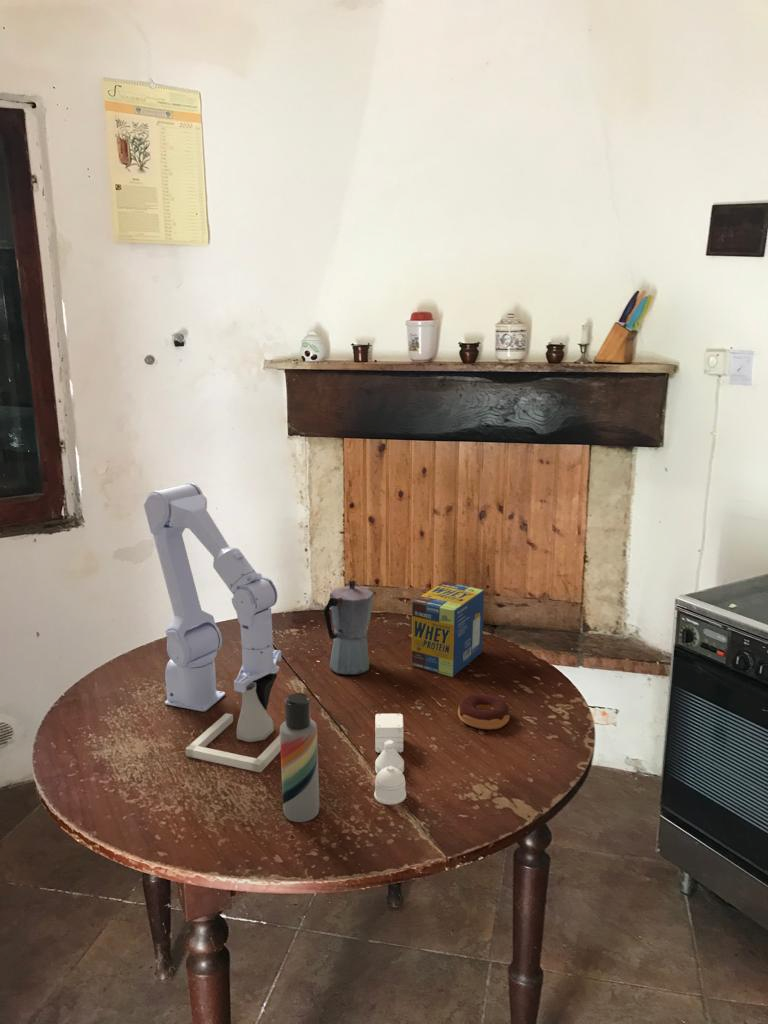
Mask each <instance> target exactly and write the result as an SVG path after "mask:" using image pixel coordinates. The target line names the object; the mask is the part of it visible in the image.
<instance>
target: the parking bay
mask: <svg viewBox="0 0 768 1024" xmlns="http://www.w3.org/2000/svg"><path fill="white" fill-rule="evenodd" d="M233 722H234V714H232V713H228V712H226V713H224V714H223V715H222V716H220V717H219V719H218V720H216V721H215V722H214V723H213V724H212V725H211V726H209V728H207V729H206V730H205V731H203V732H202V733H201V734H200V735H199V736H198V737H197V738H195V740H193V741H192V742H191V743H190V744H189V745H188V746H186V748H185V756H186V757H187V758H192V759H197V760H202V761H206V762H211V763H217V764H220V765H223V766H225V765H226V766H230V767H234V768H238V769H243V770H248V771H251V772H256V773H262V772H263V771H264V770H265V768H267V766H268V765H269V764H270V763H271V762H272V761H273V760H274V759H275V757H277V755H278V754H279V753H281V747H280V734H278V736H277V737H276V738H275V739H274V740H273V741H272V742H271V743H270V744H269V745H268V747H266V748H265V749H264V750H263V752H262V753H260V754H259V755H258V757H257V758H256V757H253V756H252V757H251V756H246V755H241V754H237V753H233V752H232V753H231V752H228V751H223V750H219V749H213V748H208V747H207V746H208V745H209V744H210V743H211V742H212V741H214V740H215V739H216V737H218V736H219V735H220V734H221V733H222V732H224V731H225V729H227V728H228V727H229V726H230V725H231V724H233Z"/></svg>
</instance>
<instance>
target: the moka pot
mask: <svg viewBox="0 0 768 1024" xmlns="http://www.w3.org/2000/svg"><path fill="white" fill-rule="evenodd" d="M356 582H357V581H355V580H349V581H348V586H342V587H336V588H334V589H333V590H332V591H331V592H330V593H329V598H328V599H329V600H328V602H327V603H326V605H325V607H324V609H323V613H324V614H323V615H324V618H325V624H326V628H327V630H328V631H327V632H328V637H329V639H330V640H333V644H332V649H331V655H330V662H329V668H330V670H331V671H333V672H334V673H336V674H340V675H345V676H346V675H348V676H350V675H360V674H363V673H365V672H367V671H369V670H370V661H369V650H368V639H367V634H368V627H369V625H370V622H371V621H370V620H371V614H372V608H373V607H372V606H373V600H374V594H375V593H374V592H373V591H371V590H372V588H371V587H368V586H356V584H357V583H356ZM330 609H331V615H330ZM331 620H332V623H331ZM332 626H333V627H334V629H332ZM333 630H334V631H333Z"/></svg>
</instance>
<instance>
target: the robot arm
mask: <svg viewBox="0 0 768 1024" xmlns="http://www.w3.org/2000/svg"><path fill="white" fill-rule="evenodd" d="M207 499H208V498H207V497H206V496H205V495H204V494H203V491H202V490H201V488H200V487H199V486H198V485H197V484H196V483H194V482H188V483H185V484H182V485H178V486H173V487H170V488H165V489H161V490H152V491H151V492H149V493H148V495H147V497H146V499H145V502H144V504H143V508H144V512H145V515H146V519H147V523H148V526H149V531H150V533H151V534H152V535H153V539H154V543H155V548H156V551H157V555H158V558H159V562H160V566H161V569H162V573H163V577H164V581H165V585H166V589H167V594H168V596H169V597H168V598H169V600H170V601H169V602H170V604H171V609H172V612H173V616H174V617H173V619H172V620H171V621H170V623H169V624H168V625H167V627H166V629H165V634H166V651H167V655H168V657H169V660H168V662H167V664H166V667H165V671H164V673H165V674H164V678H165V689H166V700H165V701H164V704H165V705H168V706H172V707H177V708H182V709H183V708H184V709H188V710H193V711H199V712H207V710H209V709H210V708H211V707H213V706H214V704H216V703H217V702H218V701H220V700H221V699H222V698H223V697H224V696H225V695H226V692H225V691H220V690H217V679H216V664H215V658H216V657H217V656H218V651H219V650H220V649H221V648H222V644H223V637H222V633H221V630H220V629H219V627H218V626H217V624H216V622H215V618H214V616H213V615H212V614H211V613H208V612H206V611H204V610H202V607H201V603H200V600H199V595H198V591H197V588H196V583H195V579H194V575H193V573H192V568H191V564H190V560H189V556H188V553H187V550H186V545H185V542H184V541H185V540H184V537H183V533H184V531H185V529H188V530H190V531H191V533H192V534H193V535H194V536H195V537H196V539H198V542H200V543H201V544H202V545H203V547H204V548H205V549H206V550H207V551H208V552H209V553H210V555H211V556H212V557H213V563H212V564H213V565H212V567H213V569H214V570H215V572H216V573H217V574H218V576H219V577H220V579H221V580H222V582H223V583H224V584H225V586H226V587H227V588H228V589H229V591H230V593H231V594H232V595H233V596H232V598H231V603H232V606H233V608H234V610H235V613H236V615H237V619H236V620H237V621H238V624H240V638H241V639H240V640H241V659H242V665H241V667H240V670H239V672H238V673H237V674H238V675H237V677H236V678H235V679H234V680H233V691H234V692H237V693H241V692H243V693H244V692H245V691H246V687H247V686H248V685H249V684H250V683H252V682H256V693H257V696H258V699H259V701H260V702H261V704H262V705H263V707H264V709H265V710H266V711H267V710H268V705H269V700H270V696H271V692H272V689H273V686H274V683H275V681H276V679H277V677H278V676H277V674H278V672H279V671H280V666H279V665H277V663H278V662H279V663H280V662H281V661H282V651H281V650H277V649H274V643H273V642H274V641H273V639H274V637H273V619H272V618H273V617H272V615H273V614H272V607H275V605H276V603H277V601H278V591H277V588H276V585H275V584H274V582H273V581H272V579H270V578H269V577H268V576H267V577H266V576H263V575H262V573H259V572H258V573H257V572H256V570H255V569H254V568H253V566H252V564H251V563H250V562H249V561H248V559H247V558H246V557H245V555H244V554H243V553H242V551H241V549H239V548H238V547H231V546H230V545H229V544H228V542H227V540H226V539H225V538H224V535H223V534H222V533H221V531H220V529H219V528H218V526H217V524H216V523H215V521H214V519H213V518H212V516H211V515H210V513H209V512H208V500H207Z"/></svg>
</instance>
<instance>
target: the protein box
mask: <svg viewBox="0 0 768 1024" xmlns="http://www.w3.org/2000/svg"><path fill="white" fill-rule="evenodd" d="M484 600H485V590H484V589H481V588H477V587H472V586H467V585H462V584H458V583H452V582H448V581H442V582H440V583H439V584H438V585H437V586H435V587H432V589H430V590H428V591H427V592H425V593H424V594H422V595H420V596H419V597H417V598H416V599H413V600H412V601H411V667H415V668H417V669H421V670H424V671H425V670H426V671H428V672H432V673H435V674H436V673H437V674H440V675H443V676H448V677H451V678H453V677H454V676H455V675H457V674H458V673H459V672H460V671H461V670H463V669H464V668H465V667H466V666H468V665H469V664H470V663H471V662H472V661H473V660H475V659H476V658H477V657H478V656H479V655H481V654H482V653H483V635H484V634H483V633H484V605H485V604H484V602H485V601H484Z"/></svg>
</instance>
